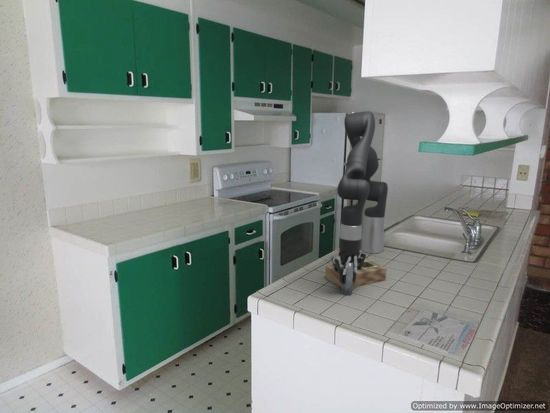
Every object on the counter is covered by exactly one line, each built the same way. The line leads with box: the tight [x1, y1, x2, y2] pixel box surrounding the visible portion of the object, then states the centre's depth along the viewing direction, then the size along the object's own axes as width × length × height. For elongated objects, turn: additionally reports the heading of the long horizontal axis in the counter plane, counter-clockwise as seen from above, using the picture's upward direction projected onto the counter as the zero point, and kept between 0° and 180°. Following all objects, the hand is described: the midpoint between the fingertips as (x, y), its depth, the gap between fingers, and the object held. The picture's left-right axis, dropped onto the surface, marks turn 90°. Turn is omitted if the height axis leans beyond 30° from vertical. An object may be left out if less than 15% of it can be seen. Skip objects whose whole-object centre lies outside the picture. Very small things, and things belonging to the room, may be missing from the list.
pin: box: [341, 262, 354, 296], centre depth 140 cm, size 4×4×12 cm
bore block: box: [324, 258, 387, 289], centre depth 154 cm, size 20×12×5 cm, turn 117°
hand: (347, 282), depth 141 cm, fingers closed on pin, 3 cm apart
